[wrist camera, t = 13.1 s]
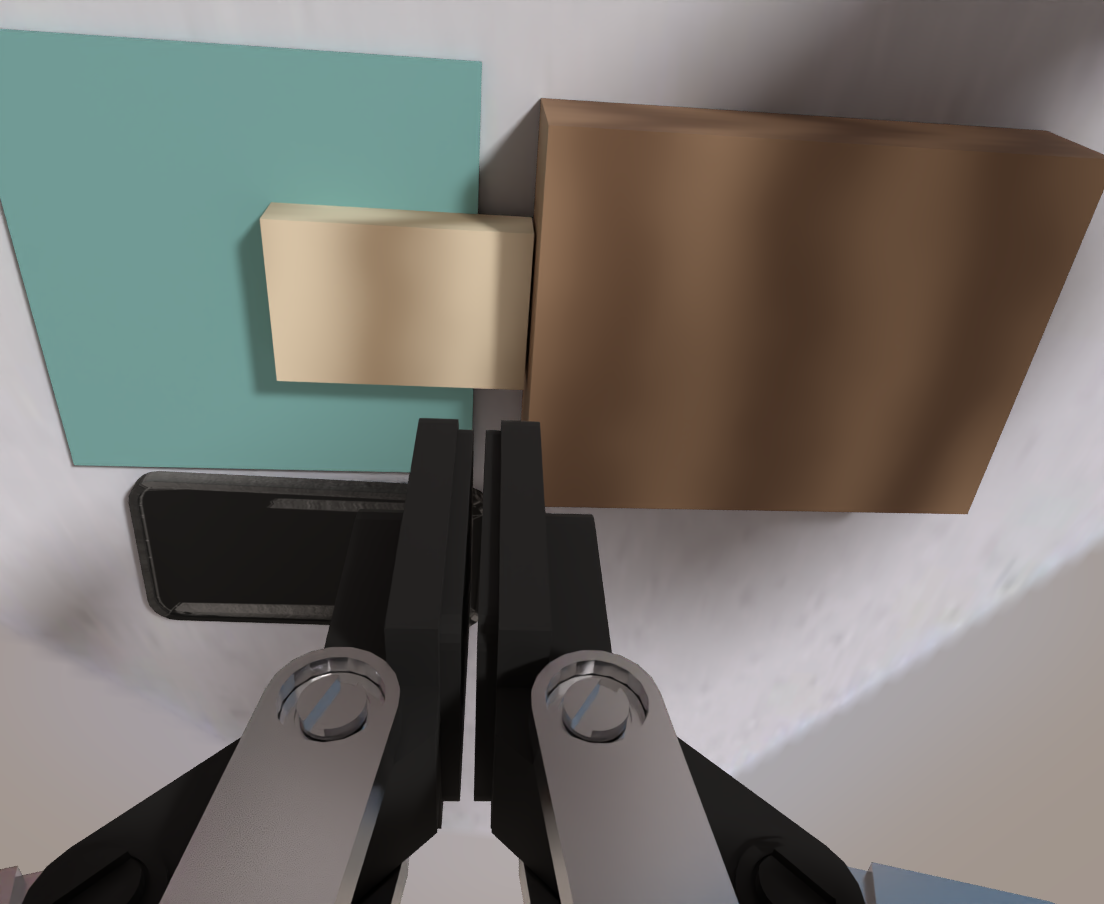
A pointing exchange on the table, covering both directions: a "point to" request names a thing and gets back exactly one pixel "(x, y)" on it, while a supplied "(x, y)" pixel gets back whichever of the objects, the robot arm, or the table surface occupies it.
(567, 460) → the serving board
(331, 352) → the coaster tile
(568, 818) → the robot arm
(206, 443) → the rubber mat
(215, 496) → the phone
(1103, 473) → the table surface
